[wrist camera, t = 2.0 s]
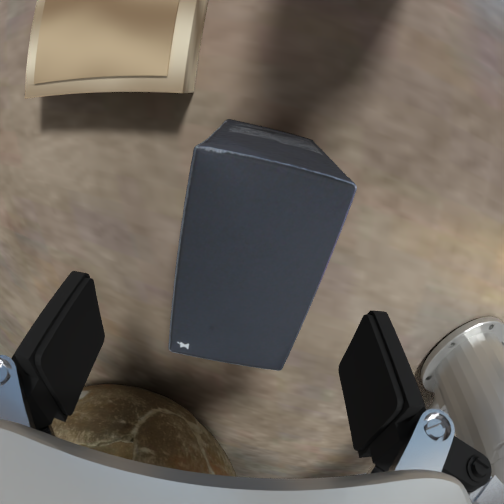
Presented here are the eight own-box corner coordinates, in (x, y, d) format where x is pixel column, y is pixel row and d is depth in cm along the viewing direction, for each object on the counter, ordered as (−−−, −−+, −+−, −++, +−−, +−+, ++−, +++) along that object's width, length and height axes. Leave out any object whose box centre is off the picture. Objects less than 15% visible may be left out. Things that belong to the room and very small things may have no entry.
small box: (279, 270, 25) (285, 377, 16) (197, 253, 24) (162, 354, 15) (319, 140, 20) (367, 188, 10) (223, 116, 19) (185, 143, 10)
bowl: (31, 303, 28) (-37, 401, 15) (267, 355, 30) (265, 501, 17) (82, 422, 42) (56, 491, 29) (234, 457, 43) (228, 536, 30)
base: (193, 92, 18) (181, 93, 15) (48, 94, 18) (23, 99, 15) (221, -59, 12) (214, -79, 10) (71, -40, 12) (49, -49, 9)
